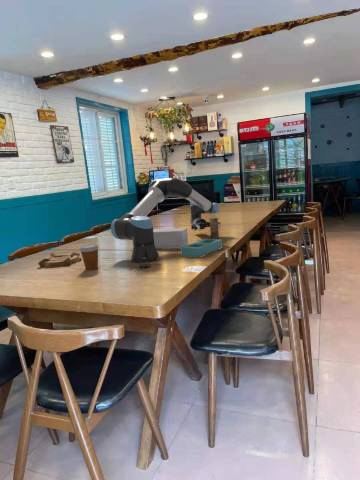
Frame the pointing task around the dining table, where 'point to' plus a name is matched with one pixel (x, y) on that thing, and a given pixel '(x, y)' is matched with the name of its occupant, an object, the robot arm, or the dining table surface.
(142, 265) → the eiffel tower figurine
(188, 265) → the dining table surface
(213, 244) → the bore block
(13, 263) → the dining table surface
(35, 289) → the dining table surface
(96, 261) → the disposable coffee cup
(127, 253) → the dining table surface
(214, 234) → the walnut pin
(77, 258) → the brown flat irregular piece
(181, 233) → the stack of papers
